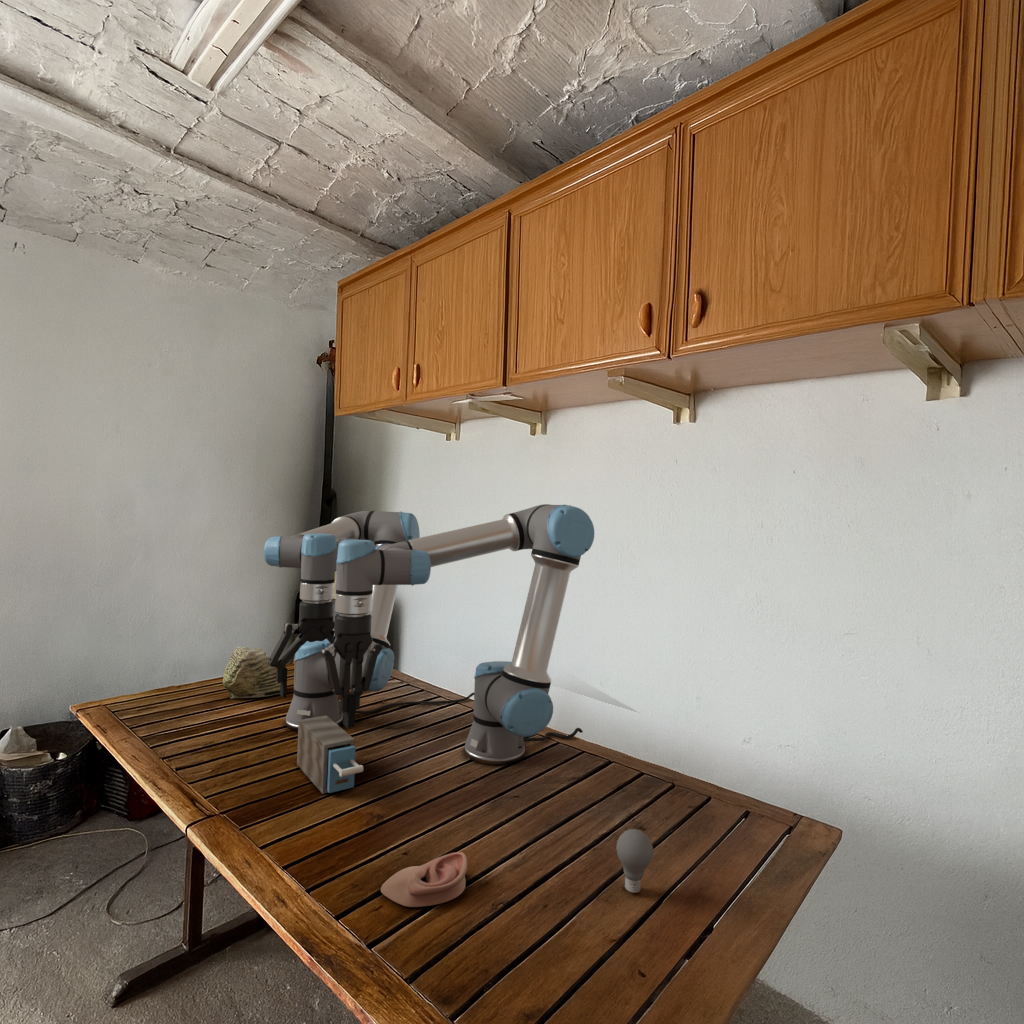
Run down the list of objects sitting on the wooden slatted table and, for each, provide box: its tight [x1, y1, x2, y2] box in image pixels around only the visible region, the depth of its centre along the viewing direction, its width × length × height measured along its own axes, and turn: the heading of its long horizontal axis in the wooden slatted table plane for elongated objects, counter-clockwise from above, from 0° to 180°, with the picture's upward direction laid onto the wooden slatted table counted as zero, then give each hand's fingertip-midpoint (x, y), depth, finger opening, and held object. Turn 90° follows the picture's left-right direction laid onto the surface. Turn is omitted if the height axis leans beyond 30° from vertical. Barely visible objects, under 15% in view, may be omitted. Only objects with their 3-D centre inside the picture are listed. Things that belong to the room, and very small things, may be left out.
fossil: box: [222, 646, 280, 699], centre depth 198 cm, size 9×18×15 cm, turn 132°
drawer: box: [327, 744, 364, 794], centre depth 140 cm, size 22×6×9 cm, turn 36°
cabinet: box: [296, 716, 355, 795], centre depth 144 cm, size 17×7×10 cm, turn 36°
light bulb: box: [615, 828, 654, 894], centre depth 106 cm, size 6×6×10 cm
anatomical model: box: [380, 851, 468, 908], centre depth 104 cm, size 13×4×12 cm
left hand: (313, 692), depth 146 cm, fingers open, 13 cm apart
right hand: (349, 725), depth 133 cm, fingers closed
